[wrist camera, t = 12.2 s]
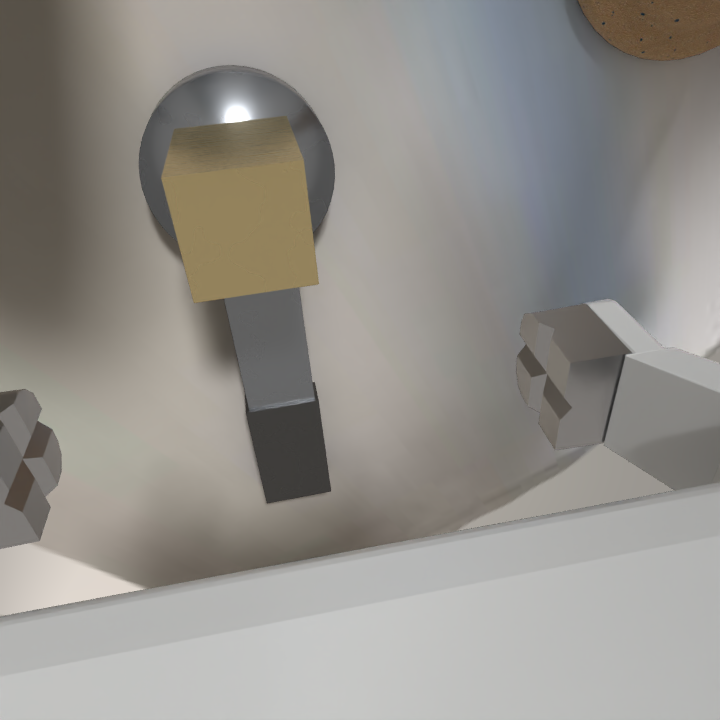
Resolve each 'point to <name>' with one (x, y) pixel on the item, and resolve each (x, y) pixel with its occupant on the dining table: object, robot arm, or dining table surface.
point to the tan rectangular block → (240, 208)
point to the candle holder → (656, 26)
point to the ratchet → (269, 309)
